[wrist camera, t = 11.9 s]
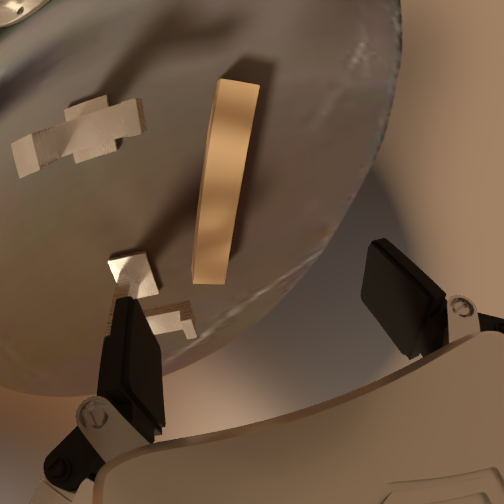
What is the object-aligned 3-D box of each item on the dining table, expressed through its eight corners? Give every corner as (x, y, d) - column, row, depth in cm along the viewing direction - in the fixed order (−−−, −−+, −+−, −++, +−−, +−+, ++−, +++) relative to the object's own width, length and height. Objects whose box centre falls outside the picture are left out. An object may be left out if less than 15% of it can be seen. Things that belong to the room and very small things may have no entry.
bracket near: (66, 109, 18) (-4, 123, 9) (150, 83, 19) (124, 68, 10) (78, 162, 21) (18, 207, 11) (160, 138, 22) (142, 167, 13)
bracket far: (108, 258, 26) (83, 339, 17) (182, 241, 27) (187, 321, 18) (125, 297, 29) (112, 380, 19) (193, 283, 30) (204, 366, 20)
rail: (216, 81, 21) (220, 78, 18) (250, 86, 22) (259, 85, 19) (191, 266, 29) (193, 283, 26) (220, 267, 30) (224, 284, 27)
